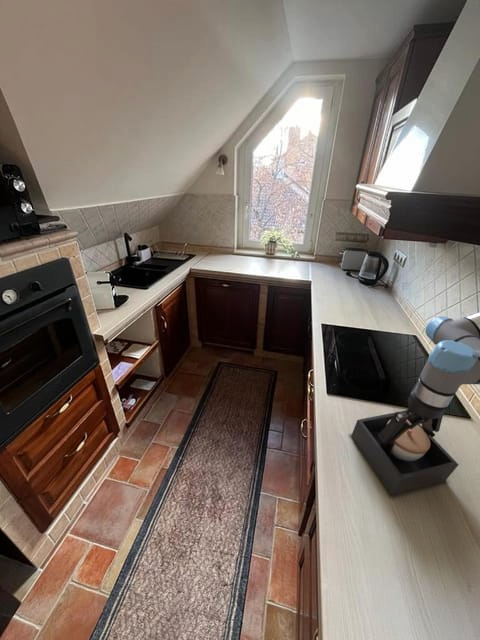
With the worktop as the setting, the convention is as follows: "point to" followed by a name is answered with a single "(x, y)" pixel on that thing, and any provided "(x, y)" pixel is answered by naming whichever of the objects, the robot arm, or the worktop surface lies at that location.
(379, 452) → the tray
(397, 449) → the trinket box
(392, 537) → the worktop surface
